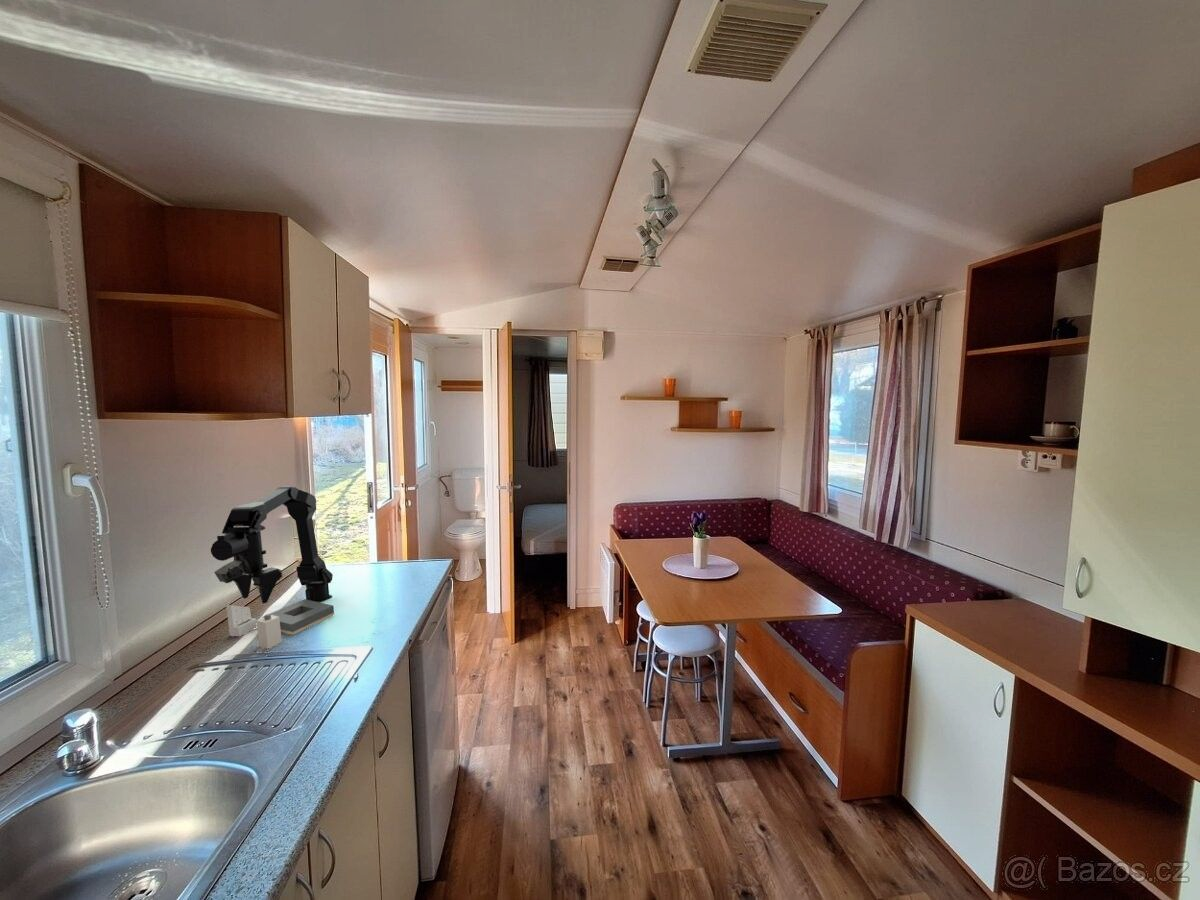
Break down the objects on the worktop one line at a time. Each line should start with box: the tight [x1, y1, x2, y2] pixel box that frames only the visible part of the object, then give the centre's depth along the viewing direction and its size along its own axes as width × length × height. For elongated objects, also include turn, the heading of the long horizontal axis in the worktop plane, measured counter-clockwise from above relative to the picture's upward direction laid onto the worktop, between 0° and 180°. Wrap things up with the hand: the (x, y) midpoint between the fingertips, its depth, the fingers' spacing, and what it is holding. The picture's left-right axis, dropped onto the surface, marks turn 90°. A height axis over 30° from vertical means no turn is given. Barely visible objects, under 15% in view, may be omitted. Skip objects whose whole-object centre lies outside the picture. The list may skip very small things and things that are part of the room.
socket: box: [261, 598, 335, 636], centre depth 152 cm, size 14×14×4 cm
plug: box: [256, 613, 283, 650], centre depth 138 cm, size 4×4×9 cm
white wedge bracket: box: [225, 604, 257, 637], centre depth 145 cm, size 4×10×9 cm, turn 168°
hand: (255, 600), depth 138 cm, fingers open, 9 cm apart
